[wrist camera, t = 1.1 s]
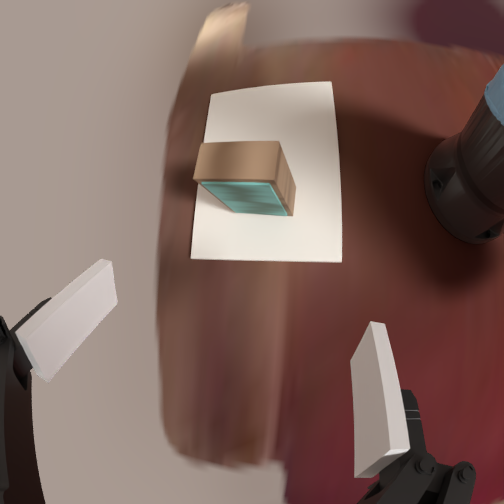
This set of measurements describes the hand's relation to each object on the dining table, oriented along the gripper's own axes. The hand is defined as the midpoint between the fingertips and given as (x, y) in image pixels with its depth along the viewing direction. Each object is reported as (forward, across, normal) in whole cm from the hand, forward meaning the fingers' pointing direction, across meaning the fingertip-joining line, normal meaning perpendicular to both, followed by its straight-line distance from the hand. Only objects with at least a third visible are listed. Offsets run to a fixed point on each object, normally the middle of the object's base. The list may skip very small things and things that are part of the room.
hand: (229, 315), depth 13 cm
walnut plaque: (+26, -2, -2) cm, 26 cm away
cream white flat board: (+30, -3, +3) cm, 30 cm away
